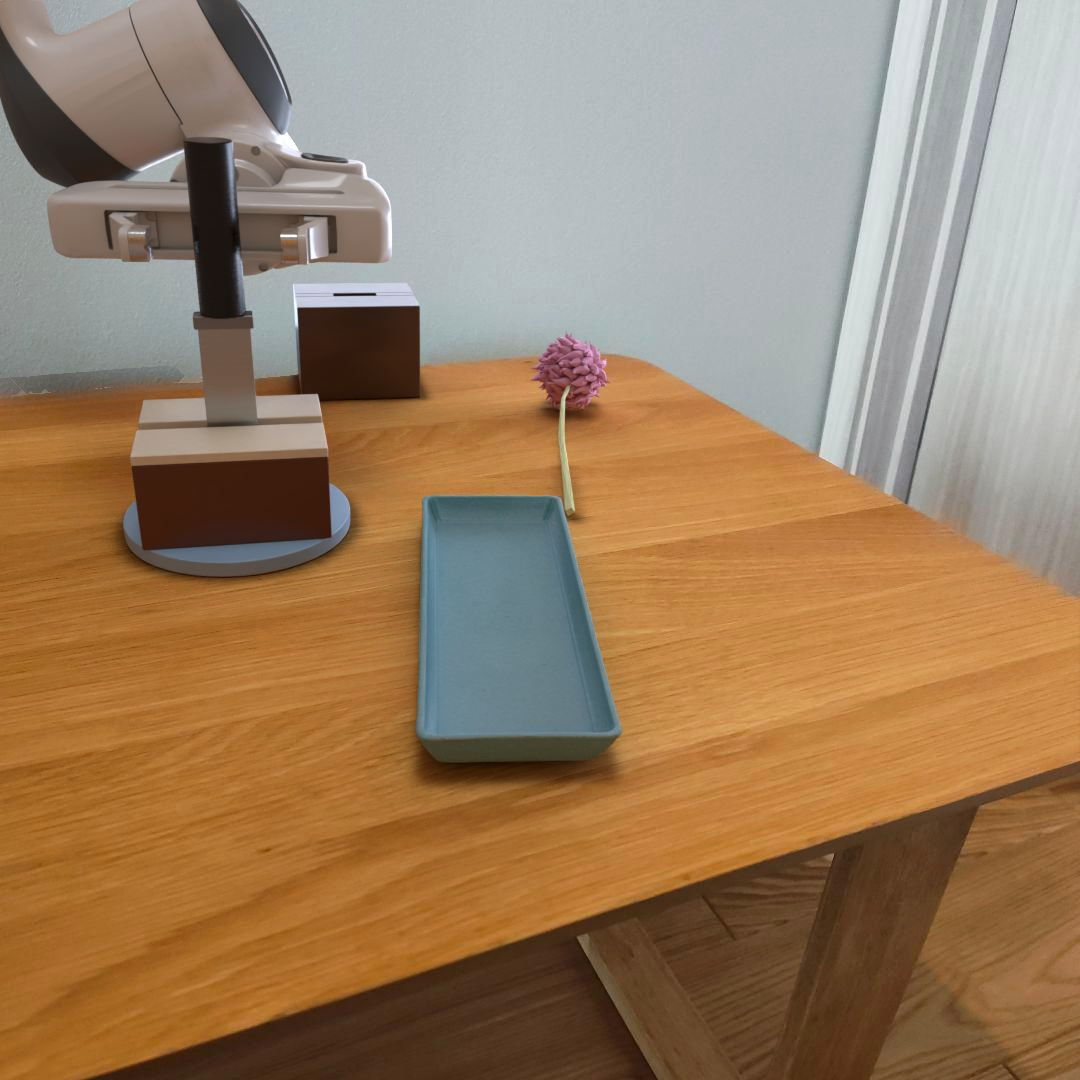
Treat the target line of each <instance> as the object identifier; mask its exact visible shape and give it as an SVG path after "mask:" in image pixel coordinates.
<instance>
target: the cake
mask: <svg viewBox="0 0 1080 1080" xmlns="http://www.w3.org/2000/svg"><path fill="white" fill-rule="evenodd" d="M256 404H257V417H258V425H255V426H230V427H207V418H206V408H205V398H204V397H189V398H163V399H162V398H159V399H143V400H142V405H141V409H140V414H139V417H138V420H137V421H138V422H137V426H138V429H137V430H136V431H135V435H134V438H133V443H132V447H131V451H130V454H129V461H130V465H131V466H130V467H131V468H130V469H131V475H132V482H133V484H132V485H133V490H134V498H135V500H134V501H133V502H132V503H131V504H130V505H129V507H128V508H127V510H126V511H125V513H124V516H123V519H122V528H123V535H124V539H125V543H126V545H127V547H128V548H129V550H130V551H131V552H132V553H133V554H134V555H135V556H136V557H138V558H139V559H141V560H142V561H144V562H146V563H148V564H149V565H152V566H154V567H157V568H159V569H162V570H164V571H169V572H173V573H178V574H183V575H190V576H197V577H212V578H213V577H217V578H219V577H220V578H228V577H247V576H255V575H262V574H267V573H273V572H278V571H282V570H286V569H289V568H293V567H296V566H300V565H303V564H305V563H307V562H311V561H312V560H314V559H317V558H319V557H321V556H323V555H325V554H326V553H328V552H329V551H331V550H332V549H334V548H336V546H337V545H338V544H340V543H341V541H343V539H344V538H345V537H346V535H347V533H348V532H349V530H350V526H351V504H350V502H349V499H348V497H346V495H345V494H344V492H343V491H341V490H340V489H339V488H338V487H337V486H335V485H334V484H332V483H331V482H330V469H329V468H330V467H329V466H330V464H329V447H328V442H327V437H326V430H325V425H324V422H323V415H322V409H321V403H320V400H319V398H318V394H304V395H301V394H279V395H277V394H276V395H256Z"/></svg>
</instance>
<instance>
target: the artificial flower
mask: <svg viewBox="0 0 1080 1080" xmlns="http://www.w3.org/2000/svg"><path fill="white" fill-rule="evenodd" d="M588 343H589V345H588V344H587V340H585V341H584V342H581V341H580V340H579V339H577V338H575V337H574V336H573V333H572V332H571V333H570V334H568V332H567V331H565V336H564V337H562V336H561V337H560V336H558V337H556V340H554V342H550V343H549V344H547V346H546V347H545V348H546V349H545V350H546V351H545V352H542V354H541V357H539V358H537V360H538V362H539V363H538V364H536V365H535V366H532V367H531V369H532V370H535V371H537V372H538V373H536V375H535V376H534V377H532V378H531V379H530V380H529V381H530V382H539V383H542V384H541V385H540V386H539V387H538V389H540V391H544V390H545V394H547V396H546V398H545V401H546V400H548V399H549V400H548V403H550V405H549V407H550V408H552V406H553V407H556V406H558V411H559V421H558V434H557V435H558V439H557V441H558V451H559V454H560V467H561V469H560V470H561V480H562V492H563V503H564V505H563V506H564V512H565V515H566V517H569V516H571V515H573V514H575V513H576V509H575V502H574V501H575V500H574V495H573V489H572V481H571V474H570V473H571V472H570V467H569V458H568V454H567V447H566V435H565V425H566V423H565V422H566V420H565V419H566V418H565V417H566V410H569V409H574V408H578V407H579V408H578V409H579V410H581V409H582V410H583V411H584V410H585V407H588V405H589V404H590V402H591V401H592V398H593V397H597V398H600V395H599V393H600V389H601V387H603V388H605V387H607V388H608V386H607V384H611V382H610V381H609V380H608V377H607V373H606V372H605V370H604V369H605V368H606V366H607V358H605V359H603V360H601V354H600V349H597V347H596V346H595V345H594V344H593V343H592V342H591V341H589V342H588Z"/></svg>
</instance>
